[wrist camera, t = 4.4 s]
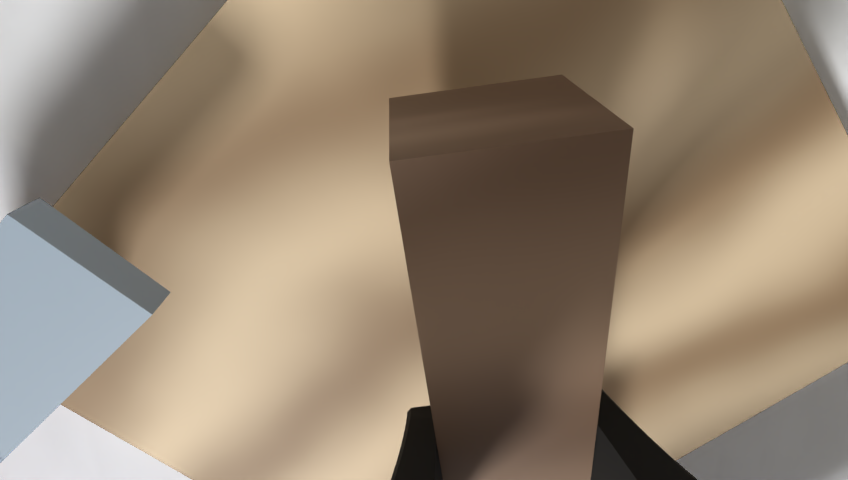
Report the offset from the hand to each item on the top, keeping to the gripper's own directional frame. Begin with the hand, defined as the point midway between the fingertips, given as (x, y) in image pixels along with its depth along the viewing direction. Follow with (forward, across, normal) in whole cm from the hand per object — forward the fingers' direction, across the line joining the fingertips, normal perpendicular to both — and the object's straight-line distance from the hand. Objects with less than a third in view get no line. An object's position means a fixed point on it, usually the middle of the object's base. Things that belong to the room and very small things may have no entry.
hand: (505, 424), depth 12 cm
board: (+4, +1, -1) cm, 4 cm away
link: (+2, 0, +1) cm, 2 cm away
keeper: (+4, +10, -4) cm, 12 cm away
